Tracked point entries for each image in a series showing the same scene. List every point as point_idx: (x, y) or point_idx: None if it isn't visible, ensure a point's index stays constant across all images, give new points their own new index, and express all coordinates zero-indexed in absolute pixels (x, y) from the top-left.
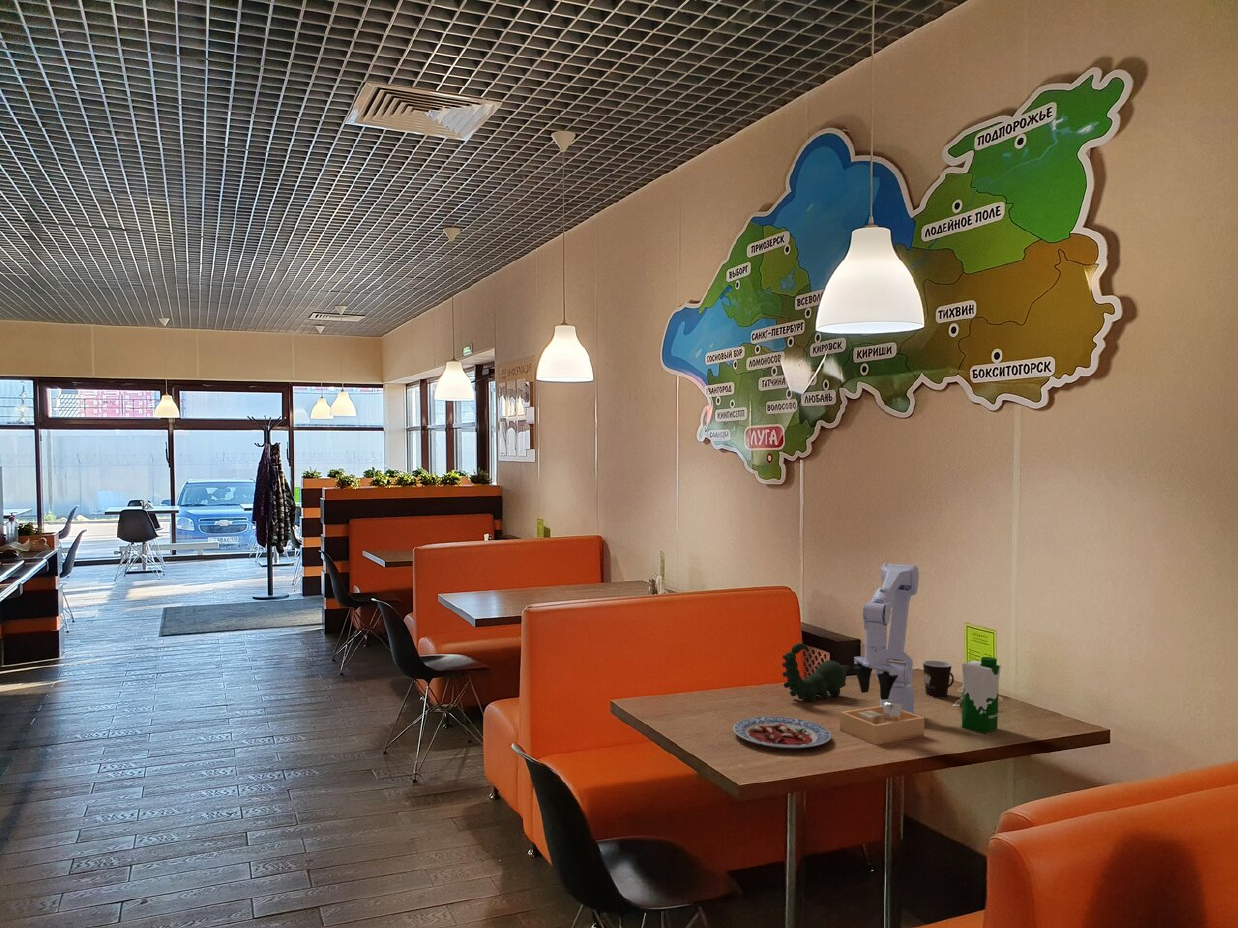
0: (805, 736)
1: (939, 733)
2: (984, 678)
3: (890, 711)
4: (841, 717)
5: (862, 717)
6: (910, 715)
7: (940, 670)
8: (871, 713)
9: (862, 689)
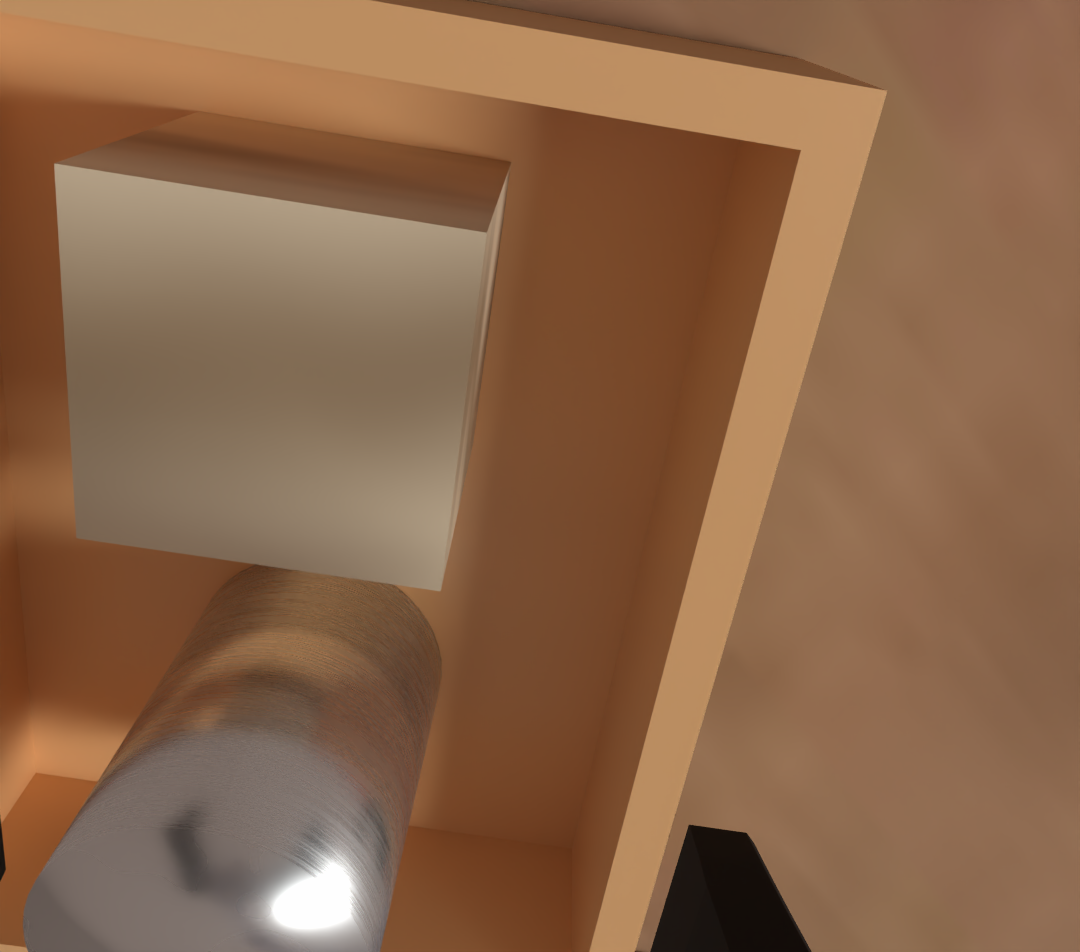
0: None
1: None
2: None
3: (149, 745)
4: (820, 74)
5: (336, 192)
6: None
7: None
8: (272, 419)
9: (704, 888)
